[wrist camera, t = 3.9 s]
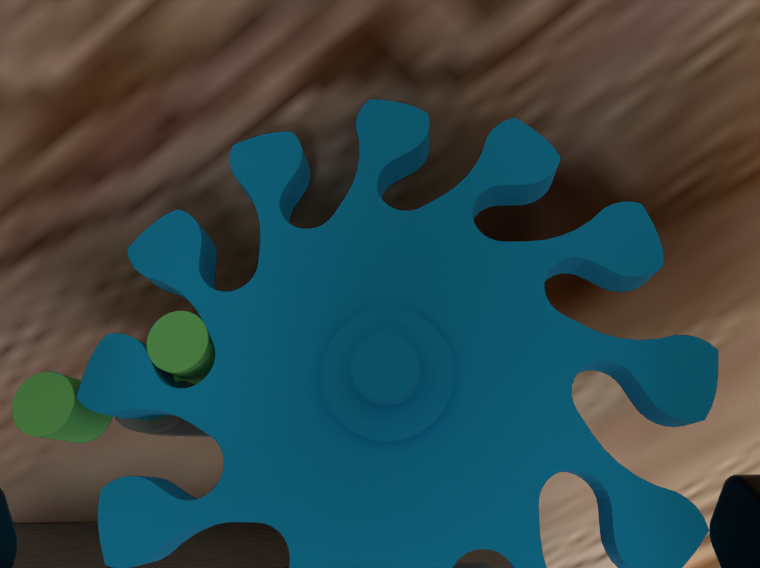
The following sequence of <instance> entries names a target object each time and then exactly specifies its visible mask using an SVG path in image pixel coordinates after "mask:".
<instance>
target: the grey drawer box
mask: <svg viewBox="0 0 760 568" xmlns="http://www.w3.org/2000/svg"><path fill="white" fill-rule="evenodd" d="M13 525H14V528H15V532H16V535H17V552H16V557H15V561H14V564H13V566H12V568H113V567H110V566H107V565H105V562H104V557H103V553H102V548H101V543H100V537H99V528H98V523H56V524H13ZM289 563H290V554H289V548H288V545H287V543H286V541H285V539H284V537H283V536H282V535H281V533H280V532H279V531H277V530H276V529H275V528H274V527H272V526H270V525H267V524H264V523H256V522H225V523H221V524H217V525H214V526H211V527H209V528H207V529H205V530H202V531H200V532H198V533H196V534H195V535H193V536H192V537H190V538H189V539H187V540H186V541H184V542H183V543H182V544H181V545H179V546H178V547H177V548H176V549H175V550H174V551H173V552H172V553H171V554H169V555H168V556H166V557H164V558H163V559H161V560H158V561H155V562H151V563H147V564H143V565H138V566H134V567H130V568H289ZM453 568H512V566H511V565H510V563H509V561H508V560H507V558H506V557H505V556H503V555H502V554H500V553H499V552H496V551H493V550H490V549H478V550H472V551H470V552H468V553H466V554H464V555H463V556H462V557H461V558H460V559H459V560H458V561H457V562H456V564H455V565H454V566H453Z"/></svg>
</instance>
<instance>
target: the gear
mask: <svg viewBox="0 0 760 568" xmlns="http://www.w3.org/2000/svg"><path fill="white" fill-rule="evenodd" d="M356 130H357V135H358V139H359V154H360V156H359V163H358V169H357V172H356V175H355V178H354V181H353V184H352V186H351V188H350V189H349V191H348V193H347V195H346V197H345V198H344V200H343V201H342V203H341V204H340V206H339V207H338V209H337V210H336V212H335V213H334V215H333V216H332V217H331V218H330V220H328V221H327V222H326V223H324V224H323V225H321V226H319V227H316V228H311V229H302V228H298V227H295V226H293V225H291V224H290V216H291V213H292V211H293V209H294V208H295V206H296V205H297V203H298V202H299V200H300V199H301V197H302V196H303V194H304V193H305V191H306V189H307V188H308V185H309V182H310V168H309V165H308V162H307V159H306V157H305V154H304V152H303V149H302V146H301V144H300V142H299V140H298V138H297V136H296V135H295V134H294V133H293V132H275V133H268V134H264V135H260V136H257V137H253V138H250V139H248V140H245V141H242V142H239V143H237V144H234V145H233V147H232V150H231V152H230V166H231V170H232V172H233V174H234V176H235V177H236V179H237V180H238V182H239V184H240V185H241V187H242V188H243V190H244V192H245V193H246V195H247V196H248V198H249V199H250V200H251V201H252V202H253V203H254V205H255V207H256V210H257V213H258V218H259V224H260V249H259V261H258V267H257V270H256V272H255V274H254V276H253V277H252V279H251V280H250V281H249V282H248V283H247V284H246V285H244V286H243V287H241V288H239V289H237V290H233V291H218V290H216V287H215V270H216V261H217V251H216V247H215V244H214V242H213V240H212V239H211V238H210V236H209V235H208V234H207V233H206V232H205V231H204V230H203V228H202V227H201V226H200V225H199V224H198V223H197V222H196V220H195V219H194V218H193V217H192V216H191V215H189V214H188V213H186V212H185V211H182V210H179V209H177V210H175V211H172V212H170V213H168V214H166V215H164V216H163V217H162V218H160V219H159V220H157V221H156V222H154V223H153V224H152V225H151V226H150V227H148V228H147V229H146V230H145V231H144V232H143V233H142V234H141V235H140V236H139V237H138V238H137V239H136V240H135V241H134V242H133V243H132V244H131V245H130V246H129V247H128V248H127V250H128V257H129V260H130V262H131V264H132V266H133V267H134V268H135V269H136V270H137V271H138V272H139V273H140V274H142V275H143V276H144V277H146V278H147V279H148V280H150V281H151V282H152V283H154V284H155V285H156V286H158V287H159V288H161V289H163V290H164V291H167V292H170V293H174V294H177V295H179V296H181V297H183V298H185V299H187V300H189V302H190V303H191V304H192V305H193V306H194V307H195V308H196V310H197V312H198V313H199V315H200V317H201V318H202V319H201V318H199V317H198V316H197V315H195V314H193V313H191V312H188V311H174V312H171V313H168V314H166V315H164V316H163V317H161V318H160V319H159V320H158V321H157V322H155V324H154V325H153V327H152V328H151V330H150V332H149V334H148V338H147V344H145V343H143V342H141V341H139V340H137V339H135V338H133V337H132V336H129V335H125V334H119V333H113V334H107V335H105V337H104V338H103V339H102V340H101V342H100V343H99V344H98V346H97V347H96V349H95V351H94V352H93V354H92V356H91V358H90V360H89V362H88V364H87V367H86V369H85V372H84V374H83V377H82V381H81V380H78V379H75V378H72V377H68V376H65V375H62V374H59V373H56V372H41V373H38V374H35V375H33V376H32V377H30V378H28V379H27V380H26V381H25V382H24V383H23V384H22V385H21V386H20V388H19V389H18V390H17V392H16V394H15V396H14V399H13V403H12V416H13V420H14V422H15V424H16V426H17V427H18V428H19V429H20V430H21V431H22V432H24V433H25V434H27V435H30V436H34V437H41V438H48V439H55V440H62V441H69V442H76V443H85V442H89V441H92V440H94V439H96V438H97V437H99V436H100V435H101V434H102V433H103V432H104V431H105V430H106V429H107V427H108V425H109V424H110V422H111V419H112V416H114V417H115V418H116V420H117V421H118V422H119V423H121V424H122V425H123V426H125V427H127V428H128V429H131V430H134V431H138V432H142V433H147V434H151V435H159V436H210V437H212V438H213V439H214V440H216V442H217V443H218V445H219V446H220V448H221V450H222V453H223V459H224V466H223V473H222V475H221V478H220V480H219V482H218V483H217V485H216V487H215V488H214V489H213V490H212V491H211V492H210V493H209V494H207V495H205V496H204V497H202V498H199V499H196V498H194V497H192V496H191V495H189V494H188V493H186V492H185V491H183V490H182V489H181V488H179V487H178V486H176V485H175V484H173V483H172V482H170V481H168V480H166V479H162V478H156V477H141V476H126V477H122V478H118V479H116V480H114V481H112V482H110V483H108V484H107V485H106V486H104V487H103V488H102V489H101V493H100V498H99V503H98V528H99V537H100V543H101V548H102V553H103V557H104V562H105V565H107V566H110V567H113V568H130V567H134V566H138V565H143V564H147V563H151V562H155V561H158V560H161V559H163V558H164V557H166V556H168V555H169V554H171V553H172V552H173V551H174V550H175V549H176V548H177V547H178V546H179V545H181V544H182V543H183V542H184V541H186V540H187V539H189V538H190V537H192V536H193V535H195V534H196V533H198V532H200V531H202V530H205V529H207V528H209V527H211V526H214V525H217V524H221V523H225V522H256V523H264V524H267V525H270V526H272V527H274V528H275V529H276V530H277V531H279V532H280V533H281V535H282V536H283V537H284V539H285V541H286V543H287V545H288V548H289V554H290V563H289V568H453V566H454V565H455V564H456V562H457V561H458V560H459V559H460V558H461V557H462V556H463V555H464V554H466V553H468V552H470V551H472V550H478V549H490V550H493V551H496V552H499V553H500V554H502V555H503V556H505V557H506V558H507V560H508V561H509V563H510V565H511V566H512V568H546V564H545V561H544V558H543V554H542V546H541V538H540V527H539V507H538V505H539V495H540V492H541V489H542V487H543V486H544V484H545V482H546V481H547V480H548V479H549V478H550V477H551V476H552V475H554V474H556V473H558V472H569V473H573V474H575V475H577V476H579V477H581V478H582V479H583V480H584V481H586V482H587V483H588V484H589V486H590V487H591V488H592V490H593V492H594V494H595V496H596V498H597V504H598V512H599V525H600V534H601V540H602V544H603V546H604V549H605V551H606V553H607V555H608V556H609V558H610V559H611V561H612V562H613V563H614V564H615V565H616V566H617V567H618V568H682V567H683V566H684V565H685V564H686V562H687V561H688V560H689V559H690V558H691V556H692V555H693V554H694V553H695V551H696V550H697V548H698V547H699V545H700V544H701V542H702V541H703V539H704V538H705V536H706V534H707V533H708V531H709V529H708V526H707V524H706V521H705V519H704V517H703V516H702V514H701V513H700V511H699V510H698V509H697V507H696V506H695V505H694V504H693V503H691V502H690V501H689V500H688V499H687V498H686V497H684V496H682V495H680V494H679V493H677V492H675V491H672V490H668V489H665V488H662V487H659V486H656V485H654V484H652V483H650V482H648V481H646V480H644V479H642V478H640V477H638V476H636V475H634V474H633V473H632V472H630V471H629V470H627V469H626V468H625V467H623V466H622V465H620V464H619V463H618V462H617V461H616V460H615V459H614V458H613V457H612V456H611V455H610V454H609V453H608V452H607V451H605V450H604V448H603V447H602V446H601V444H600V443H599V442H598V441H597V439H596V438H595V437H594V435H593V434H592V433H591V431H590V430H589V428H588V427H587V425H586V423H585V422H584V420H583V419H582V417H581V416H580V414H579V413H578V411H577V409H576V407H575V405H574V403H573V399H572V384H573V380H574V378H575V376H576V375H577V373H579V372H583V371H586V370H595V371H600V372H603V373H605V374H608V375H609V376H611V377H612V378H613V379H615V380H616V381H617V382H618V384H619V385H620V386H621V387H622V389H623V390H624V392H625V393H626V395H627V396H628V398H629V399H630V401H631V402H632V403H633V405H634V406H635V407H636V409H637V410H638V411H639V412H640V413H641V414H642V415H643V416H644V417H646V418H647V419H648V420H650V421H652V422H654V423H656V424H659V425H663V426H668V427H679V426H685V425H688V424H692V423H695V422H699V421H703V420H705V418H706V417H707V415H708V413H709V411H710V409H711V407H712V404H713V401H714V397H715V394H716V388H717V379H718V350H717V349H716V348H715V347H713V346H712V345H711V344H710V343H708V342H706V341H704V340H702V339H700V338H698V337H693V336H689V335H673V336H669V337H664V338H660V339H648V340H634V339H624V338H618V337H614V336H610V335H606V334H603V333H600V332H598V331H595V330H593V329H591V328H588V327H586V326H584V325H582V324H580V323H578V322H576V321H574V320H572V319H571V318H569V317H567V316H565V315H563V314H561V313H560V312H558V311H557V310H556V309H555V308H554V307H553V306H552V305H551V304H550V302H549V301H548V299H547V297H546V293H545V285H544V282H545V281H546V280H547V279H549V278H551V277H552V276H555V275H558V274H566V273H567V274H574V275H576V276H579V277H581V278H583V279H585V280H587V281H589V282H591V283H593V284H595V285H597V286H599V287H601V288H604V289H606V290H609V291H615V292H627V291H631V290H635V289H637V288H639V287H641V286H642V285H644V284H645V283H646V282H647V281H648V280H649V279H650V278H651V277H652V276H653V275H654V274H655V273H656V272H657V271H658V270H659V269H660V268H661V267H662V266H663V265H664V258H663V249H662V245H661V242H660V238H659V236H658V233H657V231H656V229H655V227H654V224H653V222H652V220H651V219H650V217H649V215H648V213H647V212H646V210H645V208H644V206H643V205H642V204H641V203H636V202H619V203H615V204H611V205H609V206H608V207H606V208H604V209H602V210H601V211H600V212H599V213H598V214H597V215H596V216H595V217H594V218H593V219H592V220H590V221H589V222H587V223H586V224H584V225H583V226H581V227H579V228H578V229H576V230H574V231H571V232H569V233H567V234H564V235H562V236H558V237H554V238H550V239H546V240H537V241H513V242H504V241H496V240H493V239H490V238H488V237H487V236H485V235H483V234H482V233H481V232H480V231H479V230H478V228H477V227H476V225H475V223H474V220H473V219H474V217H475V216H476V215H477V214H478V213H479V212H480V211H482V210H484V209H485V208H488V207H491V206H506V205H526V204H529V203H532V202H535V201H537V200H538V199H540V198H541V197H542V196H543V195H545V194H546V193H547V191H548V190H549V188H550V186H551V184H552V181H553V178H554V175H555V173H556V170H557V167H558V165H559V162H560V159H561V157H560V156H559V154H558V153H557V151H556V150H555V148H554V147H553V146H552V145H551V144H550V143H549V142H548V141H547V140H546V139H545V138H544V137H543V136H542V135H540V134H539V133H538V132H536V131H535V130H534V129H532V128H531V127H529V126H528V125H526V124H525V123H523V122H521V121H520V120H518V119H517V118H512V119H508V120H505V121H504V122H502V123H500V124H498V125H497V126H496V127H495V128H494V129H493V130H492V131H491V132H490V134H489V135H488V137H487V139H486V142H485V145H484V148H483V151H482V154H481V155H480V157H479V159H478V161H477V163H476V165H475V166H474V168H473V169H472V170H471V171H470V173H469V174H468V175H467V176H466V178H465V179H463V180H462V181H461V182H460V183H459V184H458V185H457V186H456V187H455V188H453V189H452V190H450V191H449V192H447V193H446V194H444V195H442V196H441V197H439V198H437V199H435V200H434V201H432V202H430V203H428V204H426V205H424V206H422V207H420V208H418V209H415V210H410V211H402V210H397V209H394V208H392V207H390V206H388V205H387V204H386V203H385V202H384V201H383V200H382V196H383V194H384V192H385V191H386V189H387V188H388V187H389V186H390V185H392V184H393V183H395V182H396V181H398V180H400V179H402V178H404V177H406V176H408V175H410V174H411V173H413V172H415V171H416V170H418V169H419V168H420V167H421V166H422V165H423V164H424V162H425V160H426V159H427V157H428V154H429V149H430V127H429V116H428V113H427V112H425V111H423V110H421V109H419V108H417V107H414V106H411V105H408V104H405V103H400V102H394V101H388V100H377V99H370V100H369V101H367V102H366V103H365V104H364V105H363V107H362V108H361V110H360V111H359V113H358V116H357V119H356Z"/></svg>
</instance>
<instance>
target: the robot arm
mask: <svg viewBox="0 0 760 568" xmlns="http://www.w3.org/2000/svg"><path fill="white" fill-rule="evenodd" d="M710 538H711V543H712V546H713V548H714V551H715V553H716V556H717V558H718V561H719V563H720V566H721V568H760V475H733V476H730V477H729V478H728V479H727V480H726V481H725V483H724V485H723V488H722V491H721V493H720V496H719V499H718V502H717V505H716V507H715V510H714V513H713V516H712V519H711V522H710ZM16 552H17V535H16V532H15V528H14V525H13V521H12V518H11V514H10V511H9V508H8V504H7V501H6V497H5V495H4V492H3V491H2V490H1V488H0V568H12V566H13V564H14V561H15V557H16Z"/></svg>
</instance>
